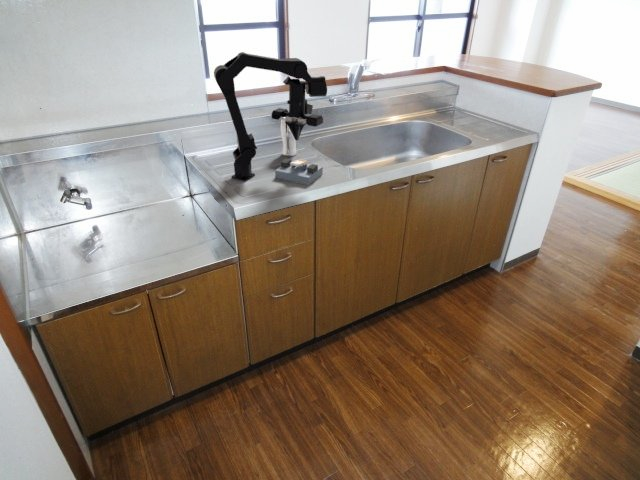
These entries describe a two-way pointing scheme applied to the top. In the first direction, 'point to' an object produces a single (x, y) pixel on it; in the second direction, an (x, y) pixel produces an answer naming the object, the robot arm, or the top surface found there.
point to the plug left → (286, 163)
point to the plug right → (312, 168)
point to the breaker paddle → (298, 162)
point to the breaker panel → (298, 174)
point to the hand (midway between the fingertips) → (296, 140)
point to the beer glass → (287, 139)
